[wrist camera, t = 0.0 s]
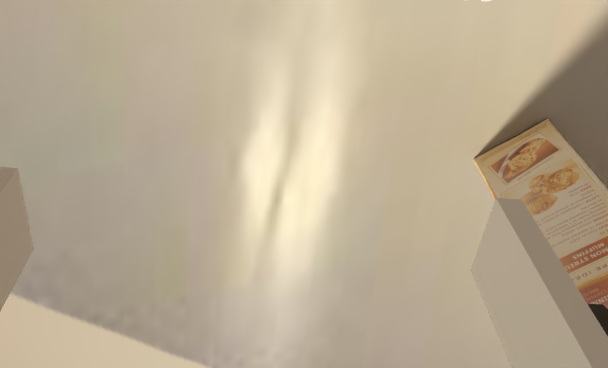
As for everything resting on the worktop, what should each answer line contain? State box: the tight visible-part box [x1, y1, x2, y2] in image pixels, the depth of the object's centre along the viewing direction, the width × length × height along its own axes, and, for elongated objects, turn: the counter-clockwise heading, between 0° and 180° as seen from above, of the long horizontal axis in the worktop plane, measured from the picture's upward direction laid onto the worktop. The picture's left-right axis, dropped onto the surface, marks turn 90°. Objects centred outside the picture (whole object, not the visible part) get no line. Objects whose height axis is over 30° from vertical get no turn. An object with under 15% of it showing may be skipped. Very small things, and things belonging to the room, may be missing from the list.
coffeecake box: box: [474, 119, 608, 309], centre depth 43 cm, size 15×7×20 cm, turn 35°
